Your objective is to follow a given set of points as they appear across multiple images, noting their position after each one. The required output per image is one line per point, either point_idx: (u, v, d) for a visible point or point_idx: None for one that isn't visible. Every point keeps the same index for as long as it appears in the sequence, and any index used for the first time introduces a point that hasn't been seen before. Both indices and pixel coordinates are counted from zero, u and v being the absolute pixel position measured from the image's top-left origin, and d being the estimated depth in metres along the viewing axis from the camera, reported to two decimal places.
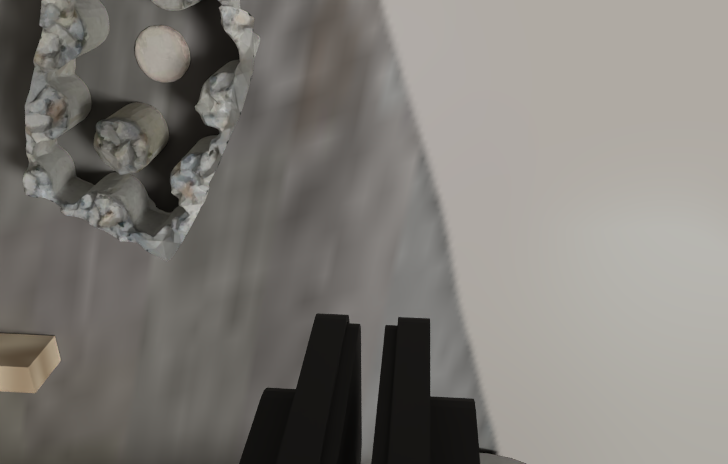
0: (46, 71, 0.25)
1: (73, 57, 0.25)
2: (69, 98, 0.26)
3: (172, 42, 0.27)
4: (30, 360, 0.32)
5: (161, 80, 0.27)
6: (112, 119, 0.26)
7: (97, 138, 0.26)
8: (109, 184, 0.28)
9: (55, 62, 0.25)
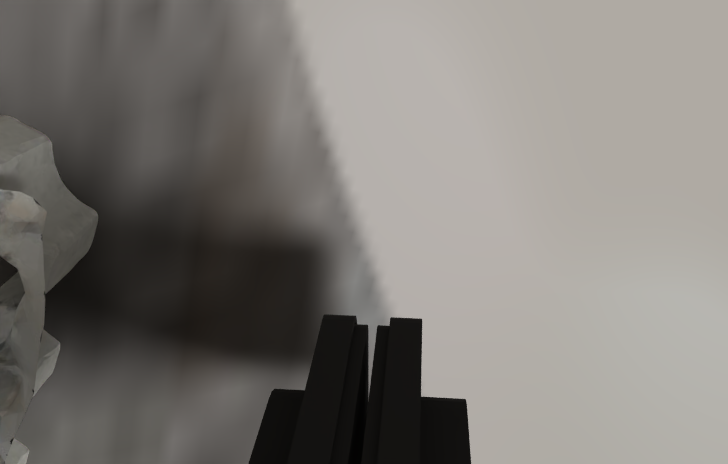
0: None
1: None
2: None
3: None
4: None
5: None
6: None
7: None
8: None
9: None
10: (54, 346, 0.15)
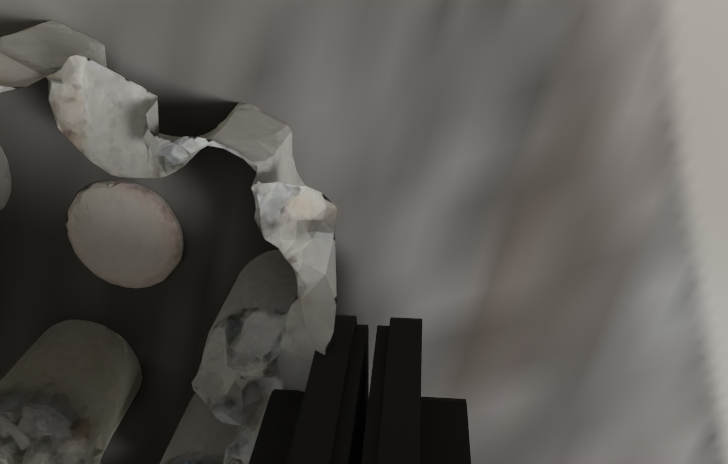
0: None
1: None
2: None
3: (145, 216, 0.12)
4: None
5: (124, 284, 0.13)
6: (9, 400, 0.12)
7: None
8: None
9: None
10: None
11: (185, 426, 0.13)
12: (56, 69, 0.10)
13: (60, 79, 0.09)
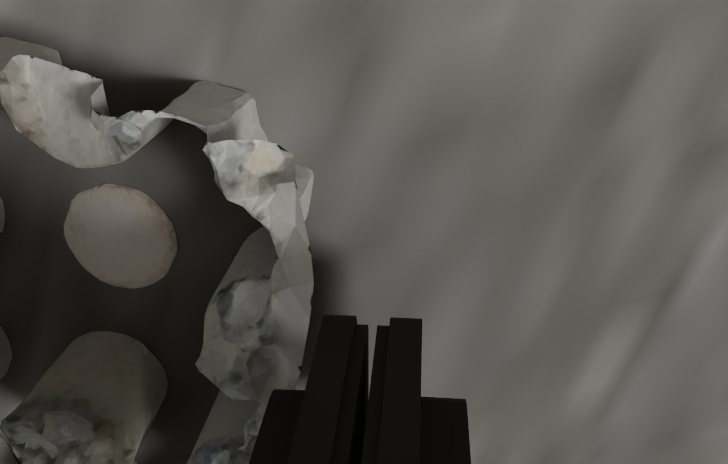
0: None
1: None
2: None
3: (134, 212, 0.13)
4: None
5: (129, 285, 0.13)
6: (30, 411, 0.12)
7: (12, 447, 0.12)
8: None
9: None
10: None
11: (211, 416, 0.13)
12: None
13: (4, 79, 0.09)
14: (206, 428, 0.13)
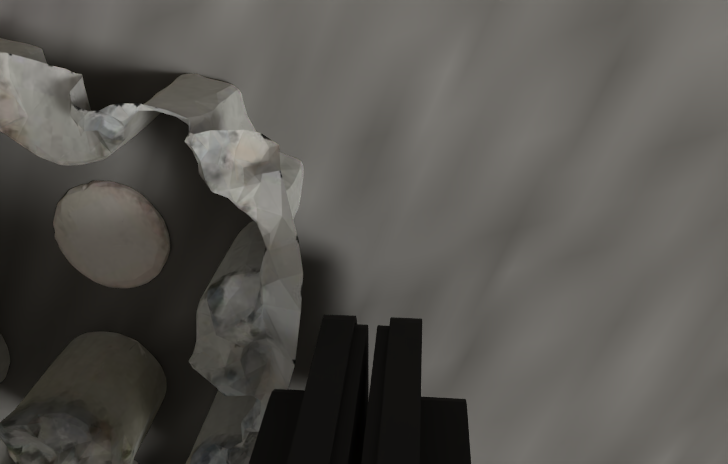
0: None
1: None
2: None
3: (124, 211, 0.12)
4: None
5: (123, 285, 0.13)
6: (25, 414, 0.12)
7: (9, 451, 0.12)
8: None
9: None
10: None
11: (210, 414, 0.13)
12: None
13: None
14: (205, 427, 0.13)
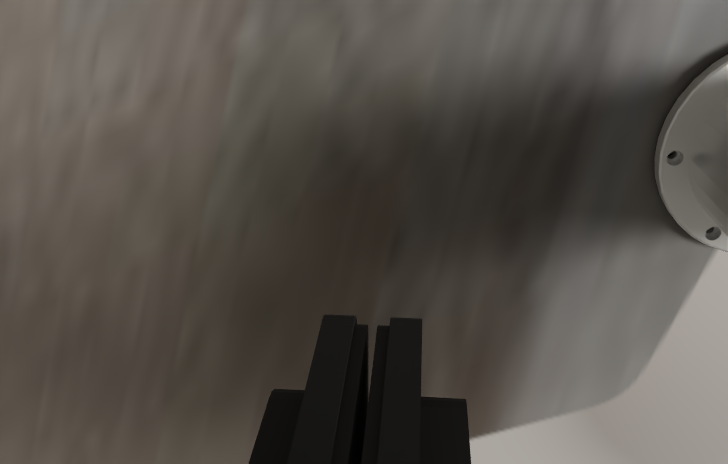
0: None
1: None
2: None
3: None
4: None
5: None
6: None
7: None
8: None
9: None
10: None
11: None
12: None
13: None
14: None
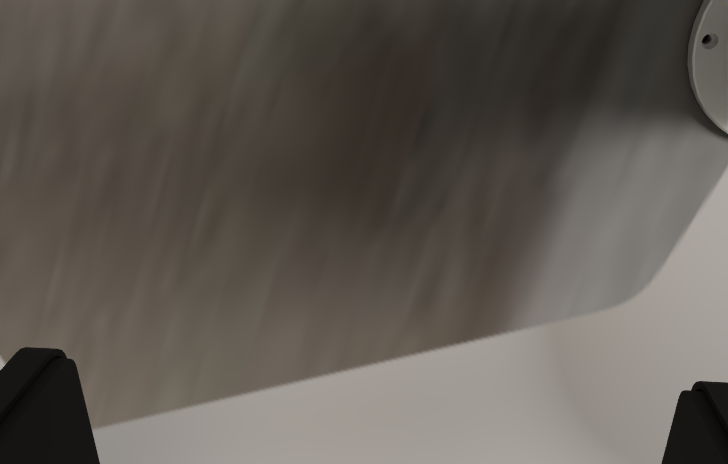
0: None
1: None
2: None
3: None
4: None
5: None
6: None
7: None
8: None
9: None
10: None
11: None
12: None
13: None
14: None
